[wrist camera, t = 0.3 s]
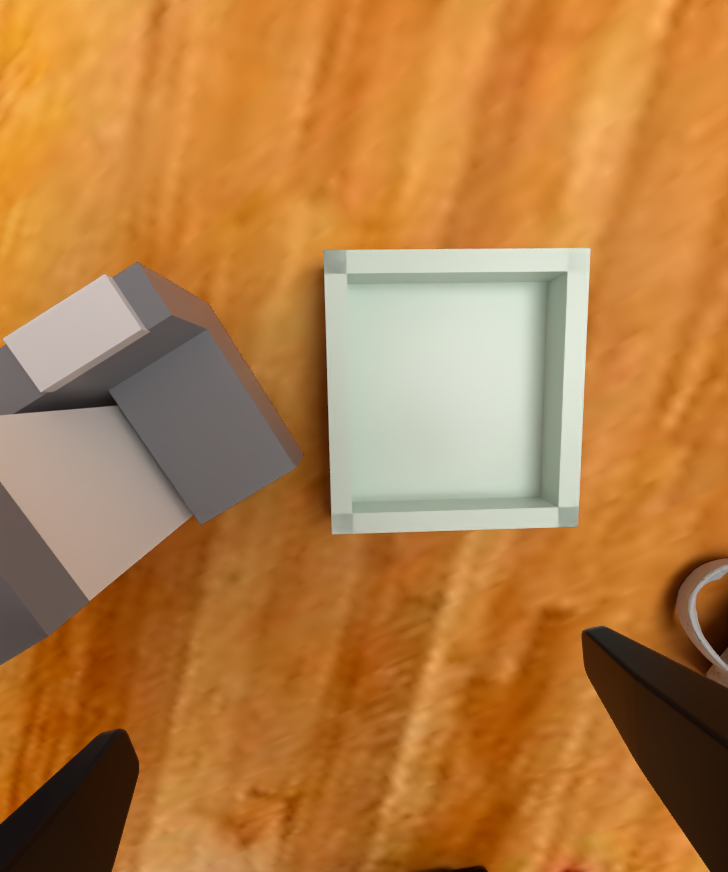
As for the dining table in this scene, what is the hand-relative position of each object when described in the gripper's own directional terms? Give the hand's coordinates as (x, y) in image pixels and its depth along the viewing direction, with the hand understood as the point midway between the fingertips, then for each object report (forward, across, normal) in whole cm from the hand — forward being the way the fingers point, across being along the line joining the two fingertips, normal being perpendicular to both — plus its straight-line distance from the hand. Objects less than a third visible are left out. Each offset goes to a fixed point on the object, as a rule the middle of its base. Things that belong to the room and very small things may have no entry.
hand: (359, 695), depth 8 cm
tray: (+15, -6, -3) cm, 16 cm away
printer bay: (+15, +9, -3) cm, 18 cm away
